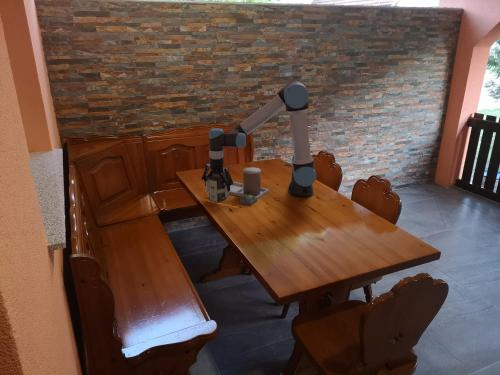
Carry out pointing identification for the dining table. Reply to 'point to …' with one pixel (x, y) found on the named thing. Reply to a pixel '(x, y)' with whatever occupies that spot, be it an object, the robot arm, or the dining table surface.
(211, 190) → the coffee can
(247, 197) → the button
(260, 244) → the dining table surface
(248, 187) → the seated tin
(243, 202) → the button box
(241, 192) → the pallet board
